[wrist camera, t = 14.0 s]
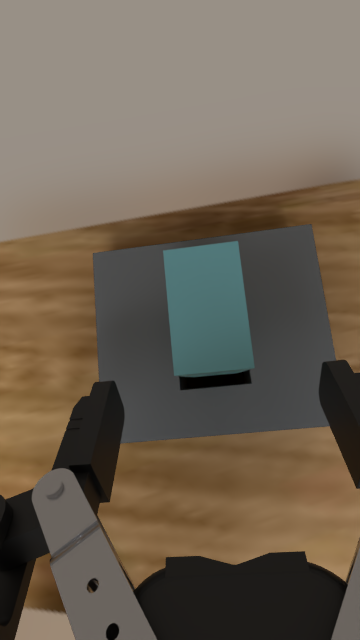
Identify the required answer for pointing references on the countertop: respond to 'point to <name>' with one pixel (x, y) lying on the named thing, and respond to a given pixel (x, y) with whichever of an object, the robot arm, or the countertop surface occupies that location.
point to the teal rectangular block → (207, 311)
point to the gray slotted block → (265, 330)
